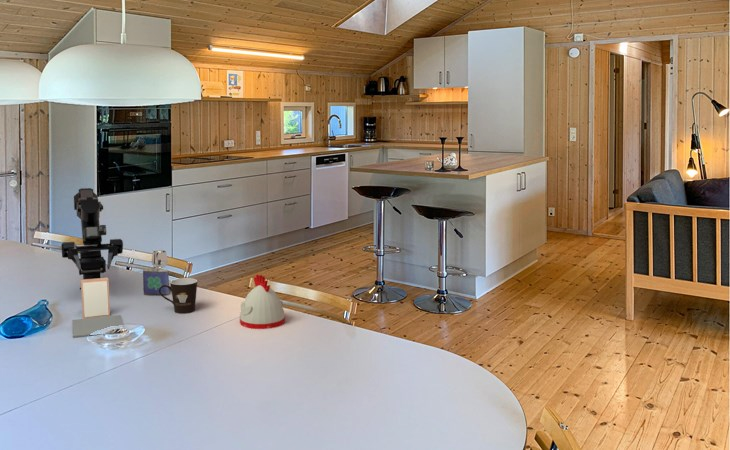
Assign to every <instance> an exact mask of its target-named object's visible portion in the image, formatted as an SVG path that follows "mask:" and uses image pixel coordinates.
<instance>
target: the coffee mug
mask: <svg viewBox="0 0 730 450" xmlns="http://www.w3.org/2000/svg"><path fill="white" fill-rule="evenodd" d="M163 287H168V288H169V292H171V297H172V298H171V299H172V300H171V299H170V298H169V297H166V295H164V296H163V294H162V293H161V288H163ZM197 289H198V280H197V279H196V278H193V277H182V278H175V279H171V280H169V286H168V285H163V286H161V287H160V288H159V293H160V295H161V296H160V297H162V298H163V299H165V300H167V301H168V302H170V303H171V304H173V305H172V306H173V309H174V313H175V314H180V315H182V314H183V315H184V314H190V313H194V312H195V311H196V301H197V300H196V299H197V291H198V290H197Z"/></svg>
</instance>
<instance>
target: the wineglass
mask: <svg viewBox="0 0 730 450" xmlns="http://www.w3.org/2000/svg"><path fill="white" fill-rule="evenodd" d="M168 259H169V258H168V256H167V251H166V250H162V249H161V250H153V252H152V255H151V263H152V265H153V266H156V265H157V266H158V267H157V269H158V270H162V268H164V267H166V266H167V265H168V262H169V261H168ZM153 266H152V267H153Z"/></svg>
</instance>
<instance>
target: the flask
mask: <svg viewBox="0 0 730 450" xmlns="http://www.w3.org/2000/svg"><path fill="white" fill-rule="evenodd" d="M152 267H153V268H150V267H148V268H147V269H143V271H142V278H143V279H142V280H143V283H142V284H143V287H142V289H143V290H142V291H143V295H144V296H159V297H162V296H161V295H160V293H159V288H160V287H161V286H163V285H168V286H170V279H169V278H170V277H169V274H170V273H169V270H168V269H161V270H159V269H158V268H157V267H158V266H157V265H156V266H152ZM161 293H162V294H163V296H169V295H170V289H169V288H168V287H163V288H161Z"/></svg>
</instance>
